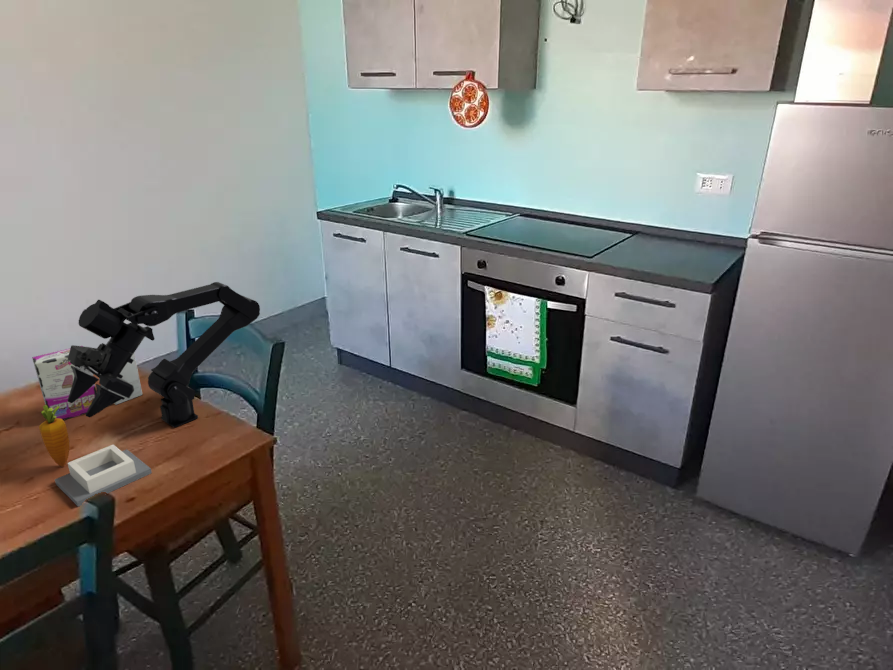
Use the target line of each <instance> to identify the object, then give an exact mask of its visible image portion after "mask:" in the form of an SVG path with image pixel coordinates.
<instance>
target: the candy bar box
mask: <svg viewBox="0 0 893 670" xmlns="http://www.w3.org/2000/svg"><path fill="white" fill-rule="evenodd" d="M69 352H70V348H65V349H62V350H61V349H60V350H57V351H53V352H48V353H44V354H40V355H36V356H32V358H31V359H32V362H33V365H34V369H35V373H36V376H37V380H38V384H39V388H40V392H41V394H42V398H43V401H44V405H47V406H48V409H49V408H53V411H54V409H55V408H56V407H57V406H60V408H59V409H58V410H57V411H56V413H55V416H56V418H60V419H62V420H63V421H65V420H69V419H73V418H76V417H80V416H83V415H86V413H87V411H88V409H89V407H90V405H91V403H92V401H93V399H94V398H95V396H96V394H97V389H96V383H95V384H94V385H93V386H92V387H90V388H89V389H88V390H87V391H86V392H85V393H84V394H83V395H82V396H80V397H79V398H78V399H77V400H76V401H74V402H73V403H70V402H68V397H69V394H70V391H71V388H72V384H73V380H74V373H73V370H72V368H71V366H74V365H73V364H71V363H70V361H68V360H67V359H68V356H69ZM74 367H75V366H74ZM53 411H52V412H53Z"/></svg>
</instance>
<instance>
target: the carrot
mask: <svg viewBox="0 0 893 670" xmlns="http://www.w3.org/2000/svg"><path fill="white" fill-rule="evenodd" d="M59 408H60V406H57V407H56V408H55V409H54V411H53V408H49V409H48V406H47V405H45V404H44V405H43V406H42V409H43V410H41V414H42V416H43V418H44V419H45V420H44V421H43V422H42V423H41V424H39V426H38V428H39V429H38V430H39V433H40V436H41V438H42V442H43V445H44V446H45V449H46V451H47V452H48V454H49V456H50V457H51V459H52V460H53V461H54V462H55V464H57V465H58V466H59V467H62V468H64V467H65V466H66V464H67V463H68V459H69V455H70V438H69V433H68V428H67V425H66V422H65V420H62V419H60V418H56V416H55V413H56V411H57V410H58V409H59ZM52 411H53V412H52Z"/></svg>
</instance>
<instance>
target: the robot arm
mask: <svg viewBox="0 0 893 670" xmlns="http://www.w3.org/2000/svg"><path fill="white" fill-rule="evenodd" d="M218 302H219V303H220V304H222V305H223V306H222V308H221V311H220V314H219V317H218V318H217V320H215V321H214V322H213V323H212V324H211V325H210V326H209V327H208V328H207V329H206V330H205V331H204V332H203V333H202V334H201V335H200V336H199V337H198V338H197V339H196V340H194V342H192V343H191V344H190V346H189V347H188V348H186V349H185V350H184V351H183V352H182V353H181V354H180V355H179V356H177V358H175V359H172V360H168V359H167V358H163V359H161V361H160V362H159V363H158V365H156V366H155V367H153V368H151V369H150V371H151V373H150V374H149V375H148V377H147V385H148V387H149V389H150V390H152V391H153V392H155V393H157V394H158V395H159V396H161V397H163V398H161V399H160V400H161V401H160V402H161V405H160V407H159V408H160V412H161V417H160V418H161V420H162V421H163V422H165V423H166V424H167V425H169V426H171V427H172V428H174V429H175V428H177V427H180V426H183V425H184V424H187V423H189V422H193V421H194V420H196V419H197V420H198V419H199V415H198V414H196V413H195V409H194V401H193V400H194V399H195V397H196V396H195V395H196V390H194V389H193V388H191V387H189V384H190V381H191V379H192V375H193V373H194V371H195V370H197V369H198V367H200V365H202V363H203V362H205V361H206V359H208V357H210V355H211V354H212V353H213V352H215V350H217V349H218V347H220V346H221V345H222V344H223V343H224V342H225V341H226V340H227V339H228V338H229V337H230V335H232V334H233V333H234V332H236V331H238V330H240V329H244V328H246V327H248V326H249V325H250V324H252V323H253V322H254V321H256V320H257V319H259V316H260V315H261V313H260V311H261V307H260V304H259V303H258V301H256V300H254V299H252V298H249V297H247V296H244V295H242V294H239V293H238V292H236V291H235V290H234V289H232V288H231V287H230V286H229V285H226V284H224V283H222V282H220V281H215V282H211V283H210V284H207V285H203V286H198V287H195V288H191V289H186V290H182V291H178V292H175V293H170V294H164V295H163V294H145V295H142V294H141V295H138V296H137V295H136V296H134V297H133V298H132V299H131V300H130V301H129V302H127V303H125V304H122V305H120V306H117V307H111V306H110V304H108V303H107V302H105V301H103V300H101V299H97V300H96V302H95V303H93V304H91V305H89V306H88V307H86V309H83V310H82V312H81V313H80V316H79V319H78V325H79V327H80V328H83V329H84V330H87V331H88V332H89V333H91V334H93V335H96V336H98V337H100V338H102V339H105V340H106V339H109V340H108V341H107V343H104V342H102V343H100V344H99V345H98V346H97V347H91V346H83V345H73V344H72V345H70V348H69V349H70V352H69V356H68V359H67V360H68V361H70V363H71V364H73V365H74V366H75V367H74V366H71V368H72V370H73V373H74V380H73V384H72V388H71V391H70V394H69V397H68V402H70V403H73V402H74V401H76V400H77V399H78V398H79V397H80V396H82V395H83V394H84V393H85V392H86V391H87V390H88V389H89V388H90V387H92V386H93V385H94V384H95V387H96V391H97V394H96V396H95V398H94V399H93V401H92V403H91V405H90V407H89V409H88V411H87V413H86V414H85V417H87V418H92V417H94V416H95V415H97V414H99V413H100V412H101V411H103V410H105V409H106V408H109V407H111V406H113V404H114V403H115V402H117V401H119V400H121V399H122V400H124V399H125V397H127V398H130V396H131V395H132V393H133V392H134V387H133V385H132V384H130V383H129V382H127V381H125V380H123V379H121V378H122V377H123V376H122V375H121V374H120V373H121V371H122V370H123V368H124V367H125V365H126V364H127V362H129V363H131V364H132V362H133V361H134V360H133V359H132V358H131V357H132V355H133V354H135V352H136V351H137V349H138V347H139V346H140V345H141V343H142V341H144V339H145V338H147V339H149V340H151V341H155V336H154V332H153V328H151V327H155V326H157V325H159V324H162V323H164V322H166V321H168V320H170V319H171V318H172V317H173V316H174V315H176V314H178V313H182V312H185V311H189V310H192V309H196V308H200V307H205V306H207V305H210V304H211V305H212V304H214V303H218ZM125 321H128V323H125ZM141 325H142V326H141ZM143 325H145V326H144V327H143ZM99 378H100V380H99ZM100 384H101V385H102V386H101V385H100ZM123 396H125V397H123ZM114 405H115V404H114Z"/></svg>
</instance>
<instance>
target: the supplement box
mask: <svg viewBox="0 0 893 670" xmlns="http://www.w3.org/2000/svg"><path fill="white" fill-rule="evenodd" d="M131 358H132V359H133V360H134V361H133V362H132V364H131V363H129V362H127V364H126V365H125V367H124V368H123V370H122V371H121V373H120V374H121V375H122V376H123V377H122V378H121V379H123V380H125V381H127V382H129V383H130V384H132V385H133V387H134V392H133V393H132V395H131V396H130V398H127V397H125V396H123V397H125V399H124V400H122V399H121V400H119V401H117V402H115V403H114V405H120V404H122V403H124V402H127V401H130V400H133V399H135V398H138V397H141V396H142V395H143V391H142V385H141V381H140V375H139V374H140V373H139V370H138V365H137V360H136V355H135V353H134V354H133V355H132V357H131ZM98 379H99V380H100V378H98ZM99 380H98V381H99ZM99 385H100V386H102V385H101V384H99Z"/></svg>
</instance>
